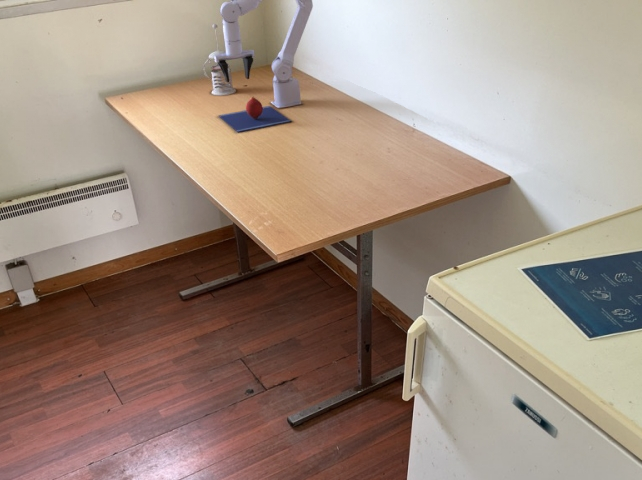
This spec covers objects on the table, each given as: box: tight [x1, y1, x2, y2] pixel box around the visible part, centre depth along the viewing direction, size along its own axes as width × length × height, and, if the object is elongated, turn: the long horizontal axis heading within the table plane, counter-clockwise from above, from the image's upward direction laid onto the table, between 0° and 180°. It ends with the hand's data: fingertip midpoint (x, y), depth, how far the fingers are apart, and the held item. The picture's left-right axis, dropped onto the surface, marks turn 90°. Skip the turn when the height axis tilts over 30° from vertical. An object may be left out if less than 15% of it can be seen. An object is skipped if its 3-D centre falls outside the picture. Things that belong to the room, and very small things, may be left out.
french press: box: [202, 23, 237, 96], centre depth 257 cm, size 10×12×25 cm
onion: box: [245, 95, 264, 119], centre depth 233 cm, size 6×6×8 cm
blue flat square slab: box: [218, 105, 292, 134], centre depth 236 cm, size 20×20×1 cm
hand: (237, 80), depth 240 cm, fingers open, 7 cm apart
